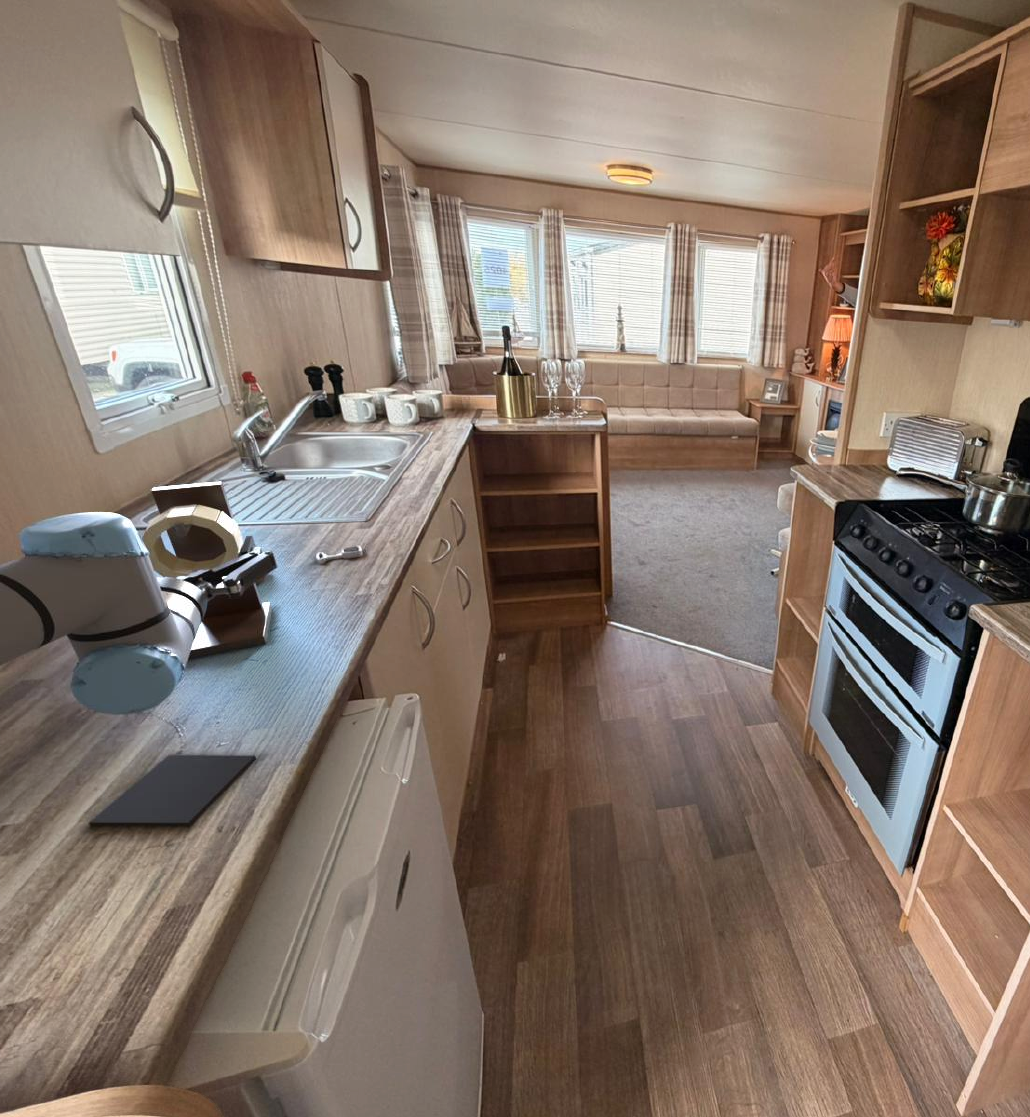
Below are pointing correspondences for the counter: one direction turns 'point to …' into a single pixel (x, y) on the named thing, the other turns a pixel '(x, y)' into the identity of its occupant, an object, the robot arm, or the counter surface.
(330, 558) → the metal bottle opener
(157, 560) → the tape roll
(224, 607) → the stand
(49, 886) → the counter surface
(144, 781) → the mat
